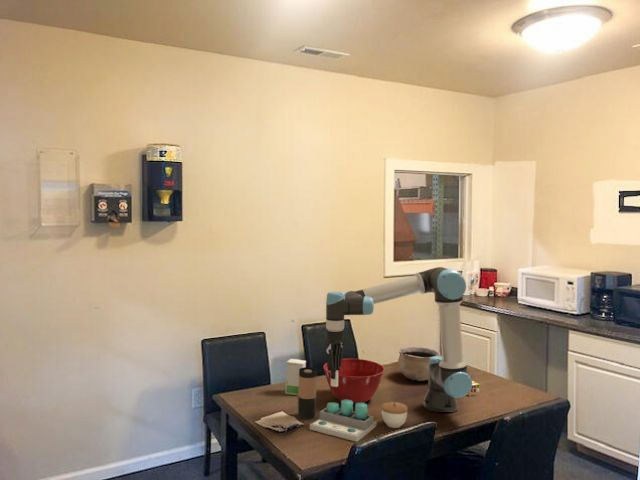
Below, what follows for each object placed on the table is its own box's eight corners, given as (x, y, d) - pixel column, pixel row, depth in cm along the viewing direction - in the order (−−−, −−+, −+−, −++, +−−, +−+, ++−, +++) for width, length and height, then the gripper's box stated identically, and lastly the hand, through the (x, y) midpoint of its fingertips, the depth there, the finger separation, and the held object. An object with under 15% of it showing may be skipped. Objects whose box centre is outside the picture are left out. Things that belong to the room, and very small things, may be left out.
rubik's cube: (479, 395, 260) (479, 384, 260) (469, 396, 258) (470, 385, 258) (472, 391, 265) (472, 380, 265) (462, 392, 263) (463, 381, 263)
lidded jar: (404, 420, 226) (405, 398, 225) (409, 430, 215) (410, 407, 214) (379, 419, 225) (379, 397, 225) (383, 430, 214) (383, 407, 214)
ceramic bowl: (392, 373, 292) (393, 346, 292) (429, 372, 296) (430, 345, 296) (405, 386, 271) (406, 357, 270) (446, 385, 275) (447, 356, 274)
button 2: (354, 413, 218) (354, 401, 218) (349, 416, 214) (349, 404, 214) (344, 410, 221) (344, 398, 220) (338, 414, 216) (339, 402, 216)
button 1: (368, 416, 215) (369, 404, 215) (363, 420, 211) (364, 407, 211) (358, 413, 217) (358, 401, 217) (353, 417, 213) (353, 405, 213)
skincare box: (284, 394, 254) (285, 361, 253) (288, 389, 260) (289, 358, 260) (301, 395, 252) (302, 363, 251) (305, 391, 258) (306, 359, 258)
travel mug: (305, 411, 232) (307, 366, 232) (319, 415, 228) (320, 369, 227) (294, 416, 227) (295, 369, 226) (307, 420, 222) (308, 373, 221)
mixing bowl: (380, 413, 233) (381, 378, 232) (316, 406, 239) (317, 372, 238) (385, 392, 261) (386, 361, 260) (328, 387, 266) (329, 356, 266)
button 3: (340, 415, 222) (340, 403, 221) (334, 419, 217) (335, 407, 217) (330, 413, 224) (330, 401, 224) (324, 416, 220) (325, 404, 220)
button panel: (376, 426, 218) (376, 414, 218) (356, 441, 202) (357, 429, 202) (331, 415, 228) (331, 403, 228) (309, 429, 213) (310, 417, 213)
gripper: (334, 325, 227) (333, 380, 228) (319, 331, 215) (318, 388, 216) (350, 327, 223) (349, 383, 224) (335, 333, 212) (334, 392, 213)
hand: (334, 385), depth 220 cm, fingers closed
